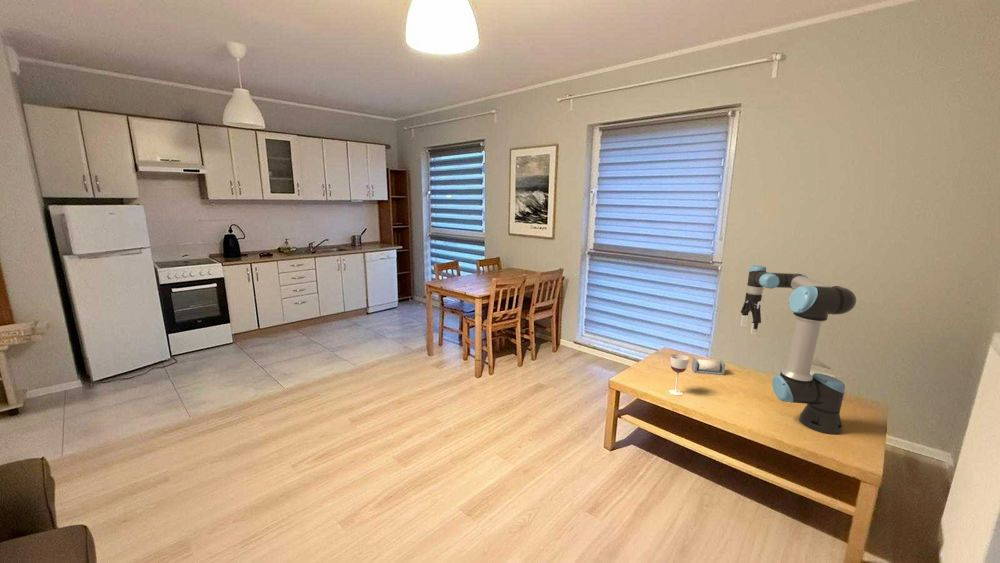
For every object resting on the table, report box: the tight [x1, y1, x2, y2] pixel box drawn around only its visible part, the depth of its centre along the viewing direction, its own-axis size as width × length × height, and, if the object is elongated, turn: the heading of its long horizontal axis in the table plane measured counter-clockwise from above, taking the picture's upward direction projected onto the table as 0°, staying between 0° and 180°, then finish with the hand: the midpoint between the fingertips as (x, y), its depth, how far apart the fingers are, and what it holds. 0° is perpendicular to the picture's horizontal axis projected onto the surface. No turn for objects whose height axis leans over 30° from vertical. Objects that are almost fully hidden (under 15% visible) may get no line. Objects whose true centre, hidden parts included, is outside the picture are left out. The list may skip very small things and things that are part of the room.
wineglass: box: [668, 353, 690, 396], centre depth 206 cm, size 8×9×20 cm
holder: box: [691, 357, 726, 376], centre depth 234 cm, size 6×16×7 cm, turn 79°
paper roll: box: [696, 358, 720, 371], centre depth 234 cm, size 11×6×6 cm, turn 79°
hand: (748, 330), depth 222 cm, fingers open, 13 cm apart
